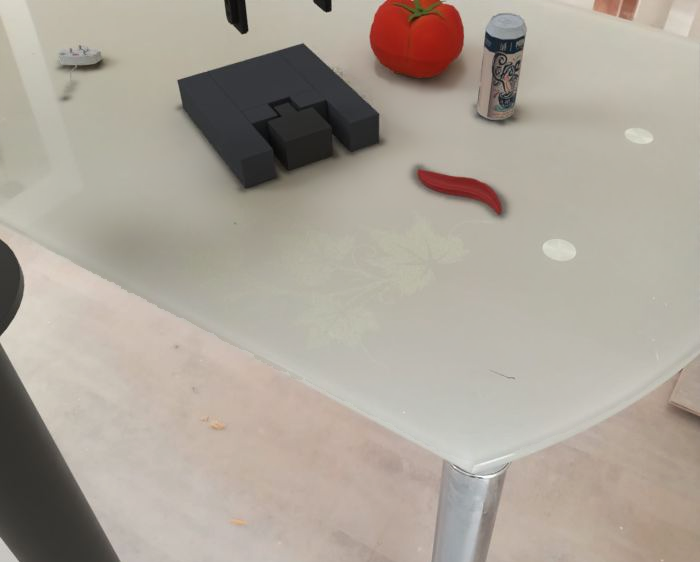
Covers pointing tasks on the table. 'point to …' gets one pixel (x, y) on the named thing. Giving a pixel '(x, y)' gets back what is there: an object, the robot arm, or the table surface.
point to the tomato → (417, 36)
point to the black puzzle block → (299, 136)
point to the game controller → (79, 57)
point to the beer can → (501, 66)
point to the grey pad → (272, 107)
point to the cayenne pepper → (460, 187)
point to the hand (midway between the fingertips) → (281, 17)
